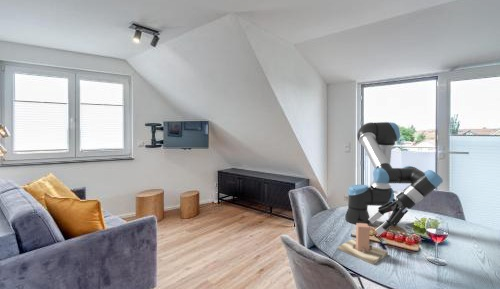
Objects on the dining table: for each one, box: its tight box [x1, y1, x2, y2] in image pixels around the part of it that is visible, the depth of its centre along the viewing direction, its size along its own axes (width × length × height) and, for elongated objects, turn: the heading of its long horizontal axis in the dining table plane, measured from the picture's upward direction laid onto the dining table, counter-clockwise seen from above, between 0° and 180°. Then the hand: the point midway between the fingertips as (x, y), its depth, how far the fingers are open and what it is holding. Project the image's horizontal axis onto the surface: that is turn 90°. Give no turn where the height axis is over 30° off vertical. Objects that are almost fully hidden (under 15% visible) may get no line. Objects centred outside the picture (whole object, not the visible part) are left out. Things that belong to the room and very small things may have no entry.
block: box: [355, 223, 371, 252], centre depth 123 cm, size 5×5×12 cm
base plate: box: [337, 238, 389, 265], centre depth 123 cm, size 14×18×4 cm
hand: (373, 226), depth 120 cm, fingers open, 13 cm apart
